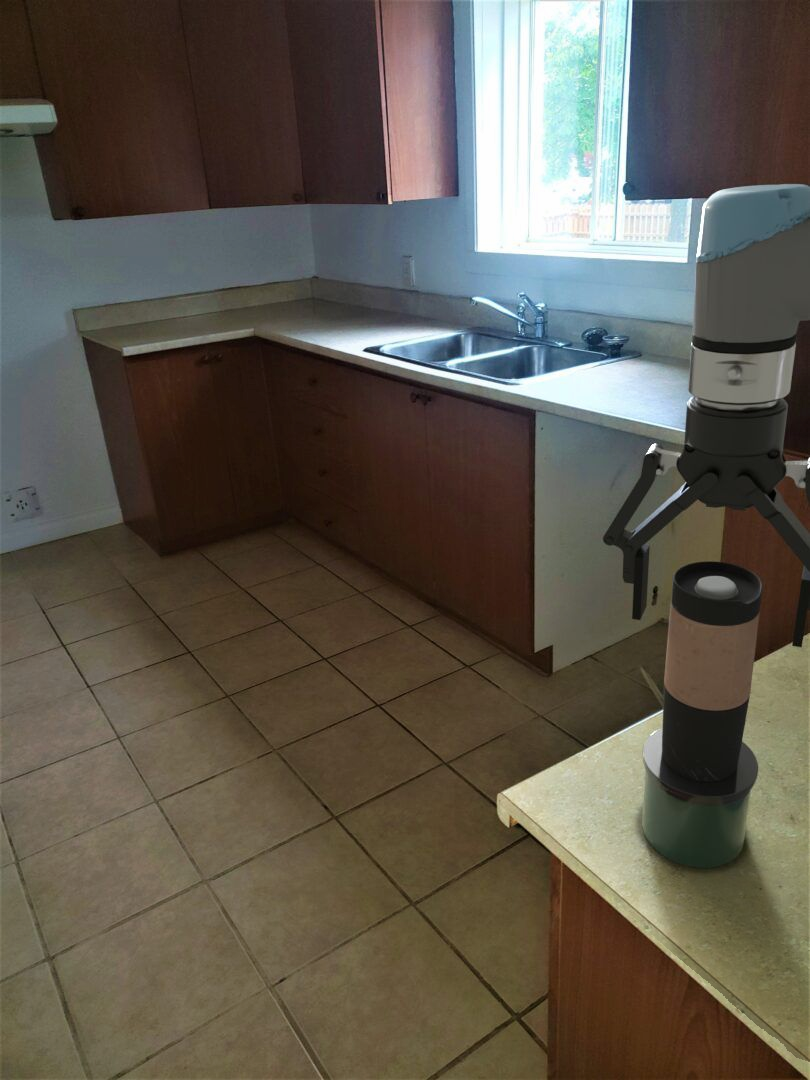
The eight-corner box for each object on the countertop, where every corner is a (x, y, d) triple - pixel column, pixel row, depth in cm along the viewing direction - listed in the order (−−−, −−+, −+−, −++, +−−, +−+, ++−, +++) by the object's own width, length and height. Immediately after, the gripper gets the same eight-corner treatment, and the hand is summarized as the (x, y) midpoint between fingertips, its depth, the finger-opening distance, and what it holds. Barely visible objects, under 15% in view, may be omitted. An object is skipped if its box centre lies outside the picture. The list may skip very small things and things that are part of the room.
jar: (739, 797, 88) (748, 726, 84) (756, 877, 79) (768, 801, 75) (635, 788, 91) (640, 719, 87) (640, 865, 81) (645, 791, 77)
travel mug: (656, 730, 85) (668, 559, 76) (734, 735, 83) (755, 561, 75) (661, 781, 78) (675, 600, 70) (746, 787, 76) (771, 603, 68)
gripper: (570, 402, 67) (569, 621, 76) (922, 421, 56) (872, 675, 66) (594, 378, 73) (590, 585, 82) (917, 391, 62) (872, 628, 71)
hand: (715, 625), depth 74 cm, fingers open, 13 cm apart
